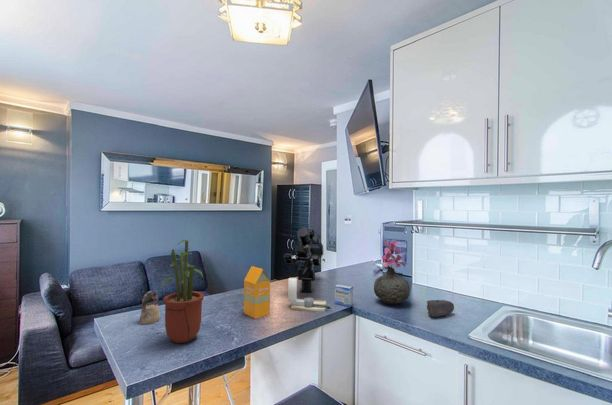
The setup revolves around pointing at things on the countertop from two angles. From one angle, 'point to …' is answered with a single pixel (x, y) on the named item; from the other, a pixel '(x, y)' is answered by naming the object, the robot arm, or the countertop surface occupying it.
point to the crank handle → (293, 295)
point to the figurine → (149, 309)
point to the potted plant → (183, 303)
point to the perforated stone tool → (439, 308)
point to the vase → (391, 279)
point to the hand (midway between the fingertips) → (298, 273)
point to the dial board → (314, 308)
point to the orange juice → (256, 293)
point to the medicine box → (343, 295)
